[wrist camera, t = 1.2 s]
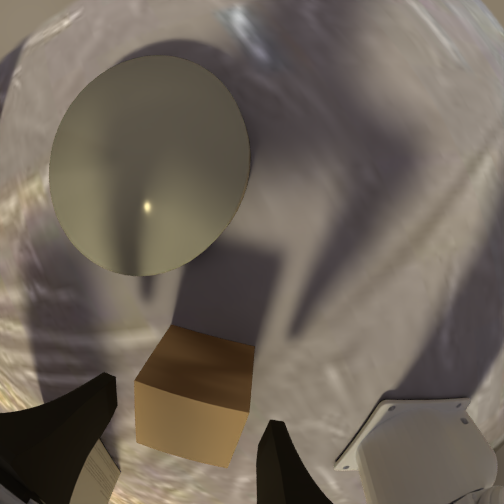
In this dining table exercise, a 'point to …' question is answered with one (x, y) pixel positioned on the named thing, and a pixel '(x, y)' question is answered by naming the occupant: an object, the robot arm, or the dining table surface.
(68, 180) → the khaki round plate
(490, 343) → the dining table surface
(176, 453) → the walnut block
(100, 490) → the skincare box
